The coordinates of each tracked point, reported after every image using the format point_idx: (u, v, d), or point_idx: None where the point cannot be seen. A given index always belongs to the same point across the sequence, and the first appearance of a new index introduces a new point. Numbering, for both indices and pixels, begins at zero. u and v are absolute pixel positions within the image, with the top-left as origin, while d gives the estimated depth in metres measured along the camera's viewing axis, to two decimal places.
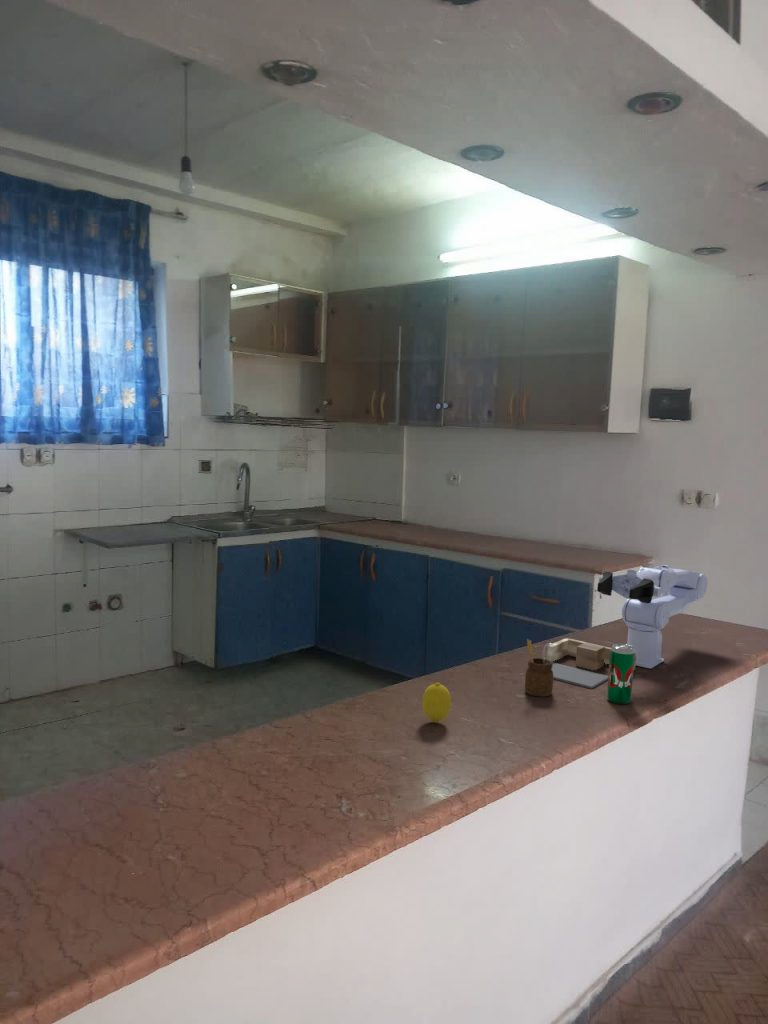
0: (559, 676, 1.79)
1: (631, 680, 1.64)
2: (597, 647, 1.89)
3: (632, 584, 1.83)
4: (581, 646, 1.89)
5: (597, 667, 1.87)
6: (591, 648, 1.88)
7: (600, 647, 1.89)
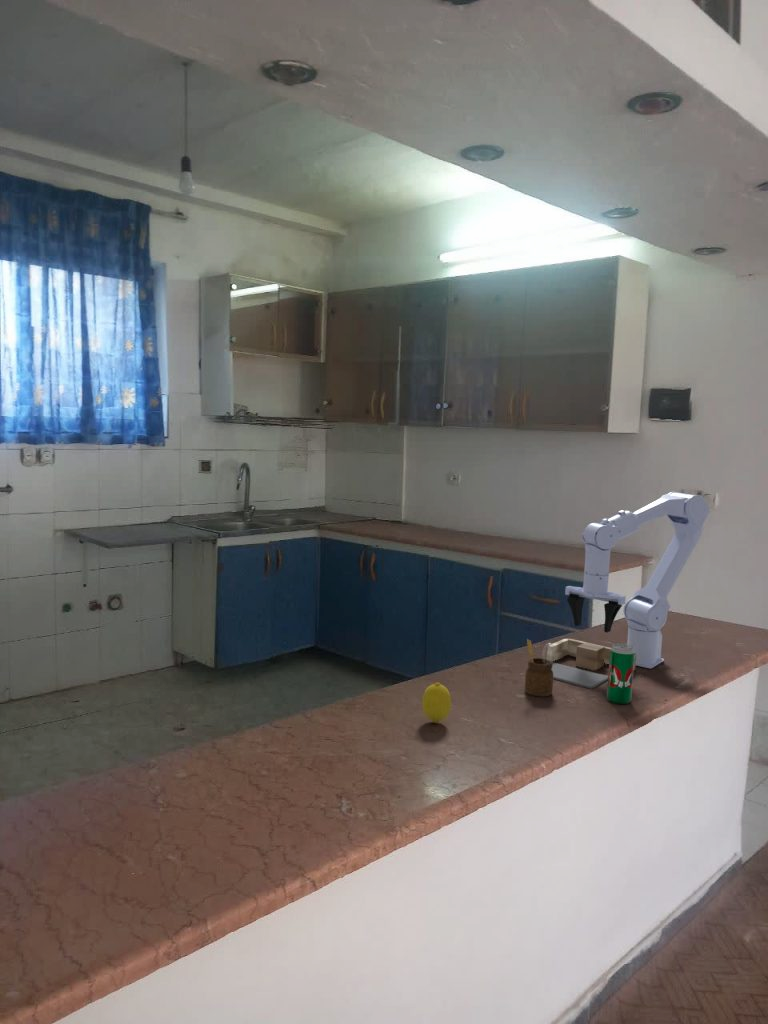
0: (559, 676, 1.79)
1: (631, 680, 1.64)
2: (597, 647, 1.89)
3: None
4: (581, 646, 1.89)
5: (597, 667, 1.87)
6: (591, 648, 1.88)
7: (600, 647, 1.89)
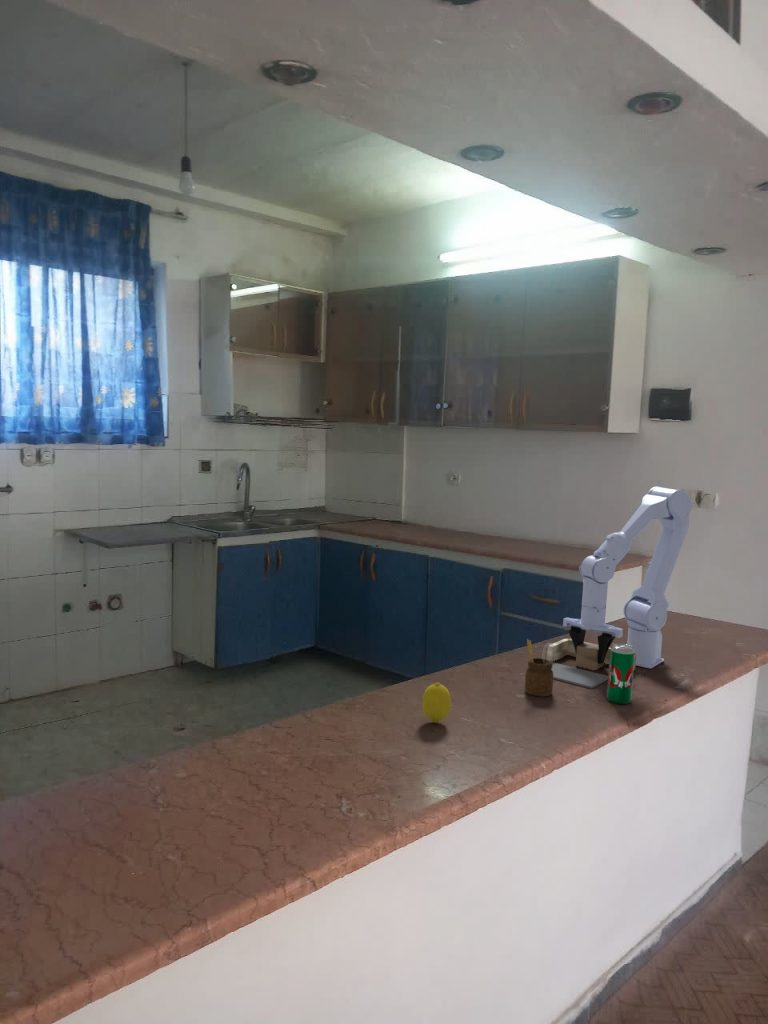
0: (559, 676, 1.79)
1: (631, 680, 1.64)
2: (597, 647, 1.89)
3: None
4: (581, 646, 1.89)
5: (597, 666, 1.87)
6: (591, 647, 1.88)
7: None
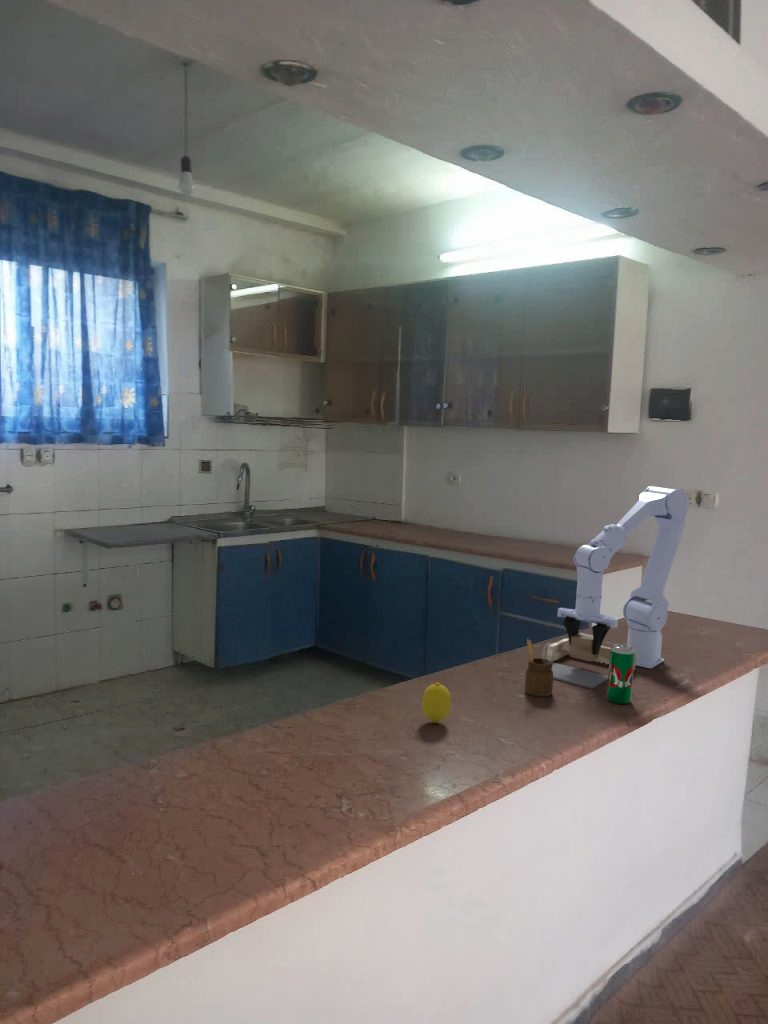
0: (559, 676, 1.79)
1: (631, 680, 1.64)
2: (591, 637, 1.86)
3: None
4: (576, 636, 1.86)
5: (591, 657, 1.84)
6: (586, 638, 1.85)
7: None
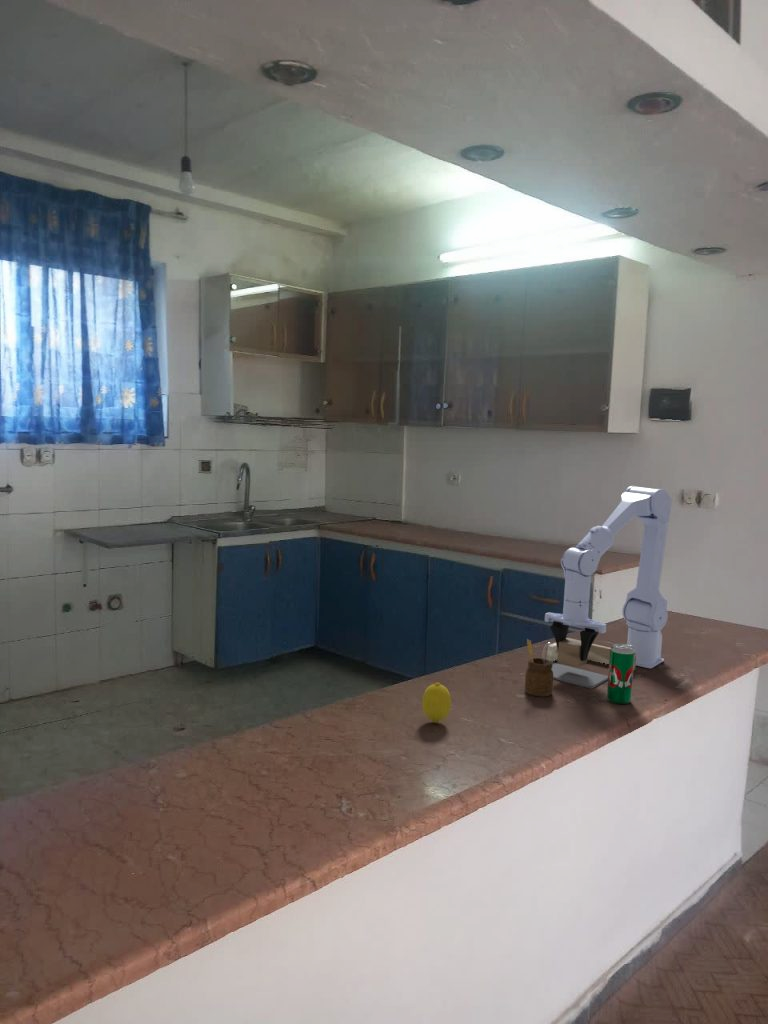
0: (559, 676, 1.79)
1: (631, 680, 1.64)
2: (579, 643, 1.80)
3: None
4: (563, 642, 1.81)
5: (579, 663, 1.79)
6: (573, 643, 1.80)
7: None
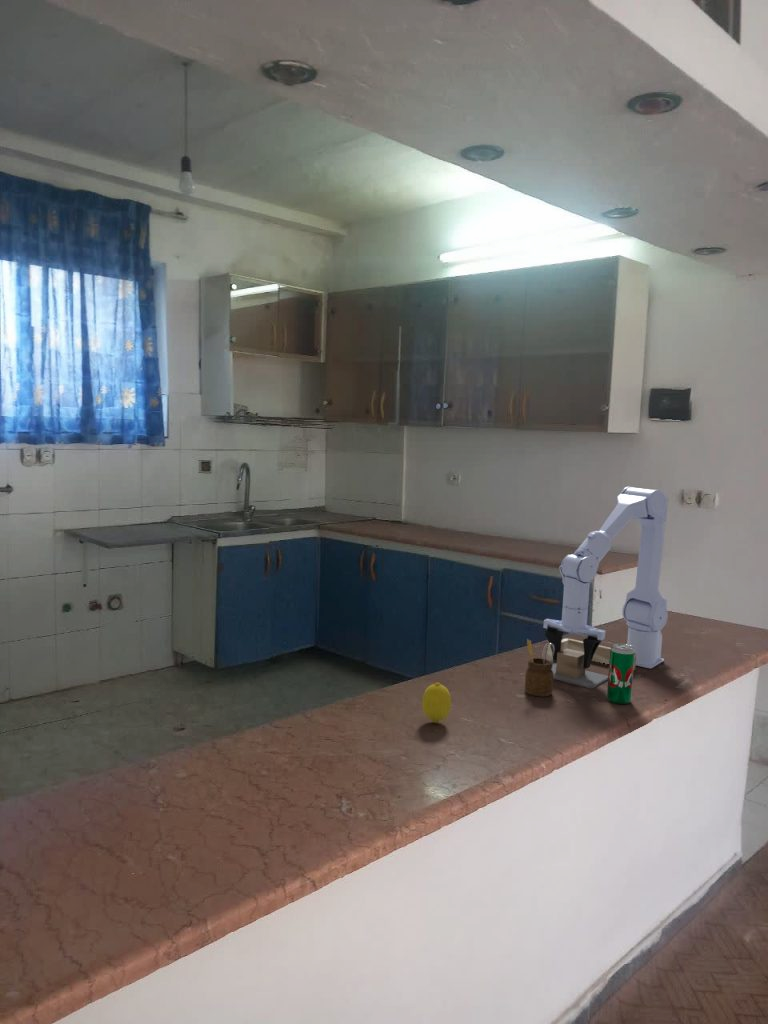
0: (559, 676, 1.79)
1: (631, 680, 1.64)
2: (578, 653, 1.80)
3: None
4: (562, 652, 1.81)
5: (578, 674, 1.79)
6: (572, 654, 1.80)
7: (581, 653, 1.81)
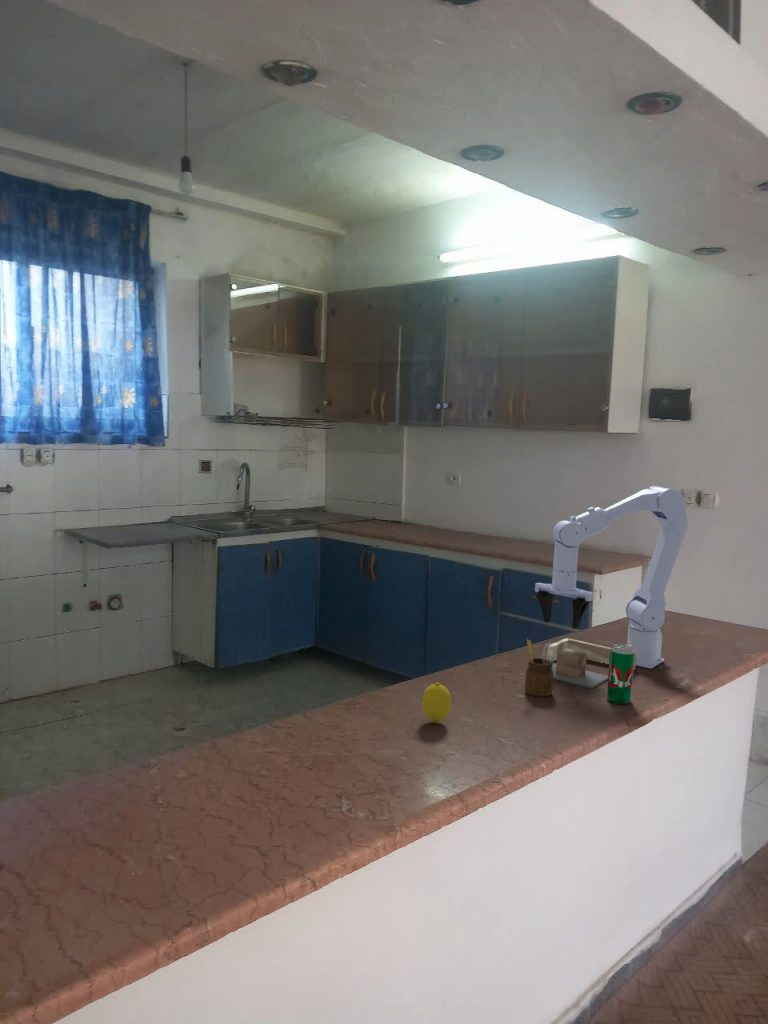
0: (559, 676, 1.79)
1: (631, 680, 1.64)
2: (578, 653, 1.80)
3: None
4: (562, 652, 1.81)
5: (578, 674, 1.79)
6: (572, 654, 1.80)
7: (581, 653, 1.81)
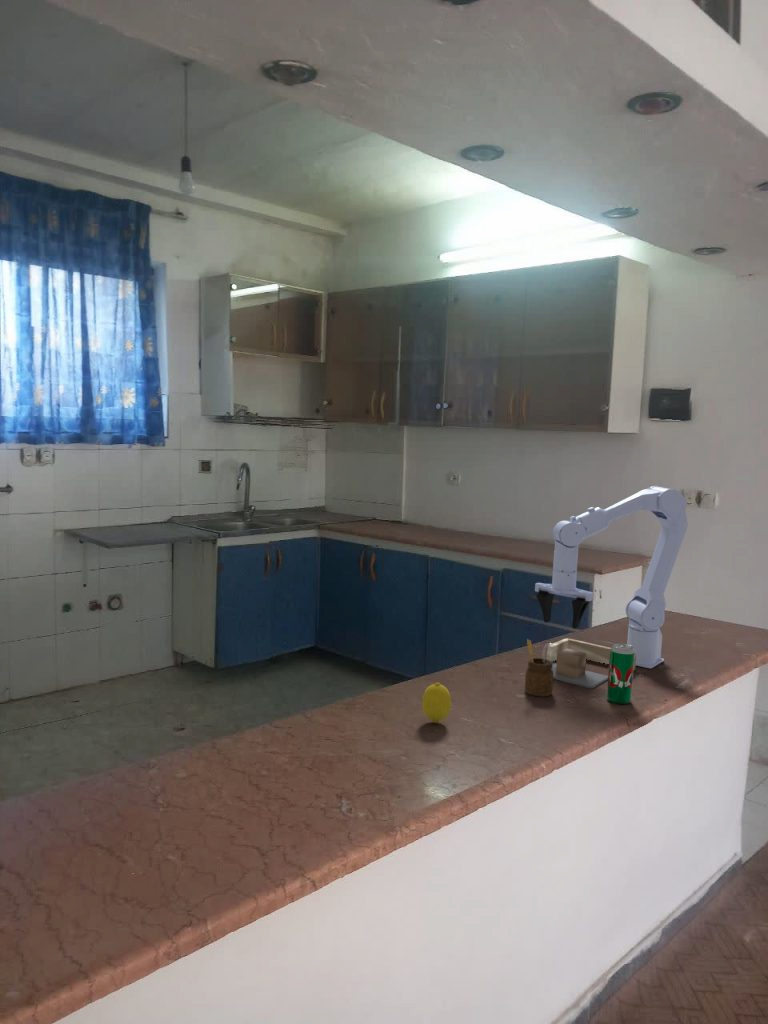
0: (559, 676, 1.79)
1: (631, 680, 1.64)
2: (578, 653, 1.80)
3: None
4: (562, 652, 1.81)
5: (578, 674, 1.79)
6: (572, 654, 1.80)
7: (581, 653, 1.81)
